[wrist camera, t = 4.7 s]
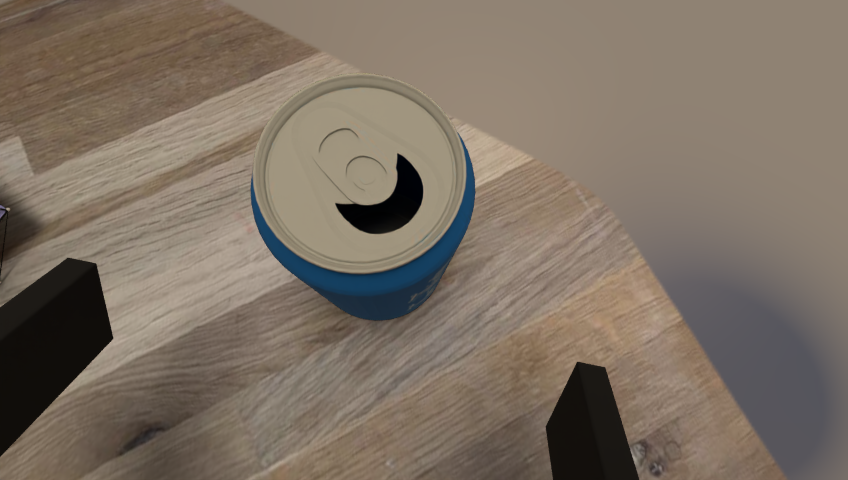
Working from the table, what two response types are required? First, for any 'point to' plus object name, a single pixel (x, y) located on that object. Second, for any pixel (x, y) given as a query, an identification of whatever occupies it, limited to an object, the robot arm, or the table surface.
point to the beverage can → (363, 192)
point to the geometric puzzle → (0, 213)
